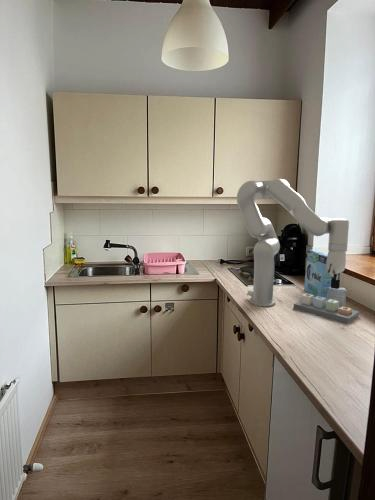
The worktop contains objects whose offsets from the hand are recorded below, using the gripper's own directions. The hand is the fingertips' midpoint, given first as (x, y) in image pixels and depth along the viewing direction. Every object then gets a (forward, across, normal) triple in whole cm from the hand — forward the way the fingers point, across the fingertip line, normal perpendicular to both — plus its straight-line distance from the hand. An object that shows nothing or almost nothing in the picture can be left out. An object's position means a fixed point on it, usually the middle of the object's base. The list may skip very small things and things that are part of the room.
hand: (335, 287), depth 152 cm
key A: (+10, 0, -1) cm, 10 cm away
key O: (+10, 0, -12) cm, 16 cm away
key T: (+10, 0, -6) cm, 12 cm away
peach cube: (+12, 0, +5) cm, 13 cm away
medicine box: (+13, -13, -5) cm, 19 cm away
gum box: (+12, -22, -18) cm, 31 cm away
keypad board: (+12, 0, -4) cm, 13 cm away
